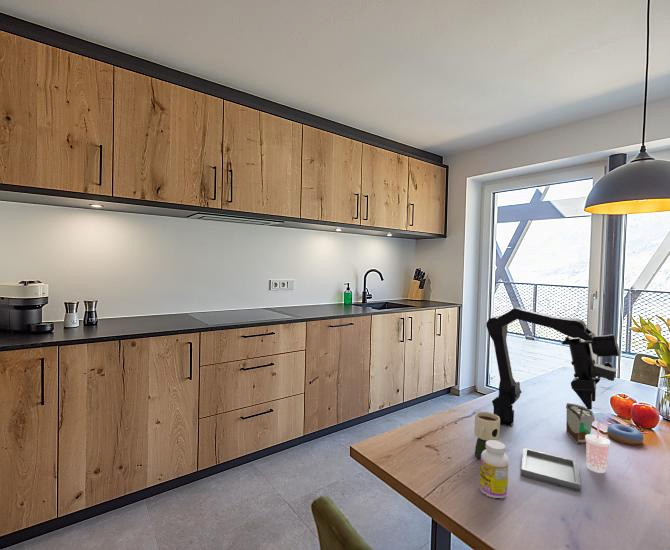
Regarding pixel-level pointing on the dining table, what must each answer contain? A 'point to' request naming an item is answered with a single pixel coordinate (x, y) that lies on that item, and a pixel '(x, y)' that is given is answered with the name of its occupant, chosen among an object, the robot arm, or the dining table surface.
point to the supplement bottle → (494, 470)
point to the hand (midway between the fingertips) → (591, 405)
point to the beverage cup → (596, 452)
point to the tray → (550, 469)
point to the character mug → (485, 430)
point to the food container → (579, 422)
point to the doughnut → (625, 434)
